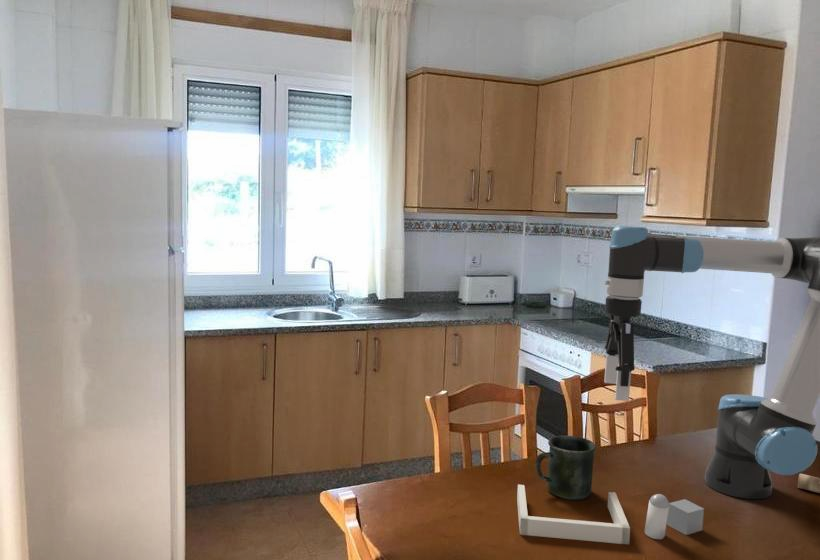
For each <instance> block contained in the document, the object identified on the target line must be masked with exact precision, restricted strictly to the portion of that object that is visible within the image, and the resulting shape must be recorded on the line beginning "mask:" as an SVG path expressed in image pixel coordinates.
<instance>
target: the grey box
mask: <svg viewBox="0 0 820 560" xmlns="http://www.w3.org/2000/svg"><path fill="white" fill-rule="evenodd" d="M704 511H705V508H704V507H702V506H700V505H698V504H695V503H693V502H691V501H689V500H688V499H684V498H683V499H680V500H676V501H673V502H669V511H668V518H667V524H666V526H669V527H670V528H672V529H674V530H676V531H678V532H680V533H681V534H683V535H685V536H689V535H691V534H695V533H697V532H701V531H703V523H704V513H705V512H704Z"/></svg>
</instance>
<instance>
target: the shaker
mask: <svg viewBox="0 0 820 560" xmlns="http://www.w3.org/2000/svg"><path fill="white" fill-rule="evenodd" d="M669 503H670V502H669V500H668V497H666V496H665V495H664V494H661V493H657V494H653V495H652V496H651V497H650V499H649V500H648V507H647V512H646V520H645V526H644V534H645V535H646V536H647V537H649V538H651V539H654V540H664V538H665V535H666V530H667V518H668V511H669Z"/></svg>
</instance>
